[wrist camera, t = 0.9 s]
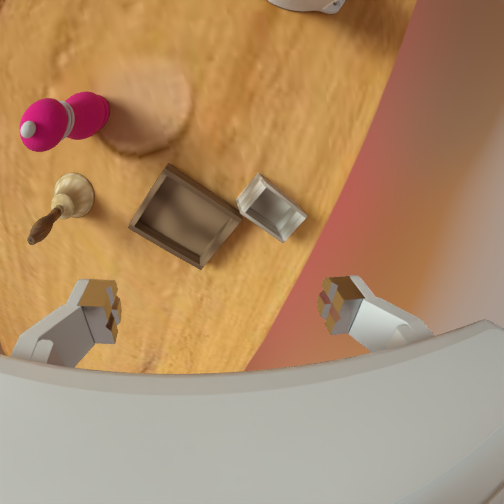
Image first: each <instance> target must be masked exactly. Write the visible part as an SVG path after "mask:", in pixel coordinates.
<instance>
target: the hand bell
mask: <svg viewBox="0 0 504 504" xmlns="http://www.w3.org/2000/svg"><path fill="white" fill-rule="evenodd" d="M93 202H94V192H93V188H92V186H91V184H90V183H89V181H88V180H87V179H86V178H85V177H84V176H82V175H80V174H77V173H68V174H65V175H63V176H62V177H61V178H60V179H59V180H58V182H57V183H56V186H55V190H54V198H53V199H52V203H51V208H52V211H51V212H50V213H49V214H48V215H47V216H45V217H42V218H41V219H39V220H38V221H37V222H36V223H35V224H34V225H33V227H32V229H31V231H30V234H29V237H28V243H29V244H30V245H34V244H35V243H37V242H40V241H42V240H43V239H44V238H45V237H46V236H47V235H48V234H49V232H50V231H51V229H52V226H53V223H54V222H55V221H56V220H57V219H58V218H60V219H68V218H70V217H75V218H76V217H81V216H84V215H85V214H87V213H88V212H89V211H90V209H91V208H92V205H93Z"/></svg>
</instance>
